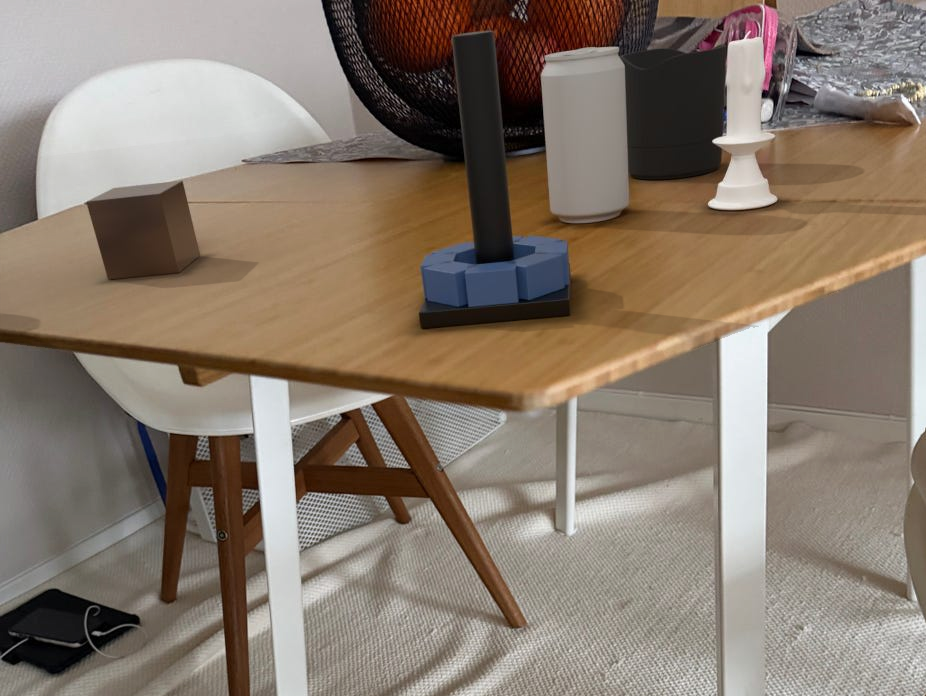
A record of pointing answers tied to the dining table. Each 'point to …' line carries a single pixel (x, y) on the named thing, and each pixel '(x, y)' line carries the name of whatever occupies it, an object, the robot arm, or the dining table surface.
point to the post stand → (487, 187)
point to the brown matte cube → (144, 230)
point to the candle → (744, 129)
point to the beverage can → (586, 134)
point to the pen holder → (674, 111)
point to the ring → (496, 273)
